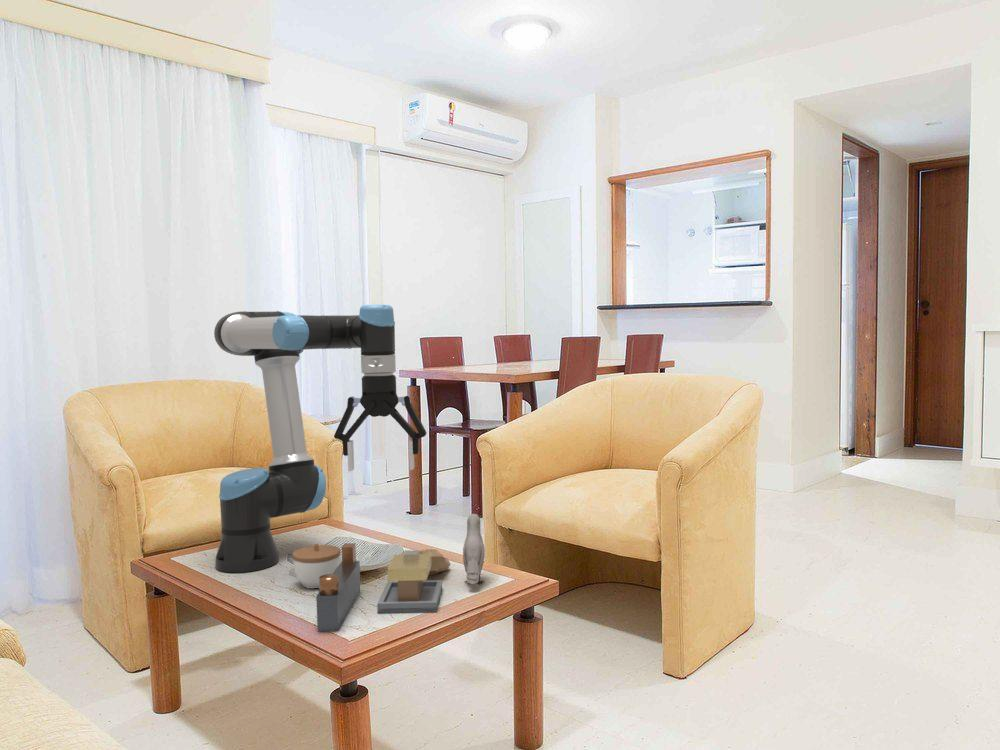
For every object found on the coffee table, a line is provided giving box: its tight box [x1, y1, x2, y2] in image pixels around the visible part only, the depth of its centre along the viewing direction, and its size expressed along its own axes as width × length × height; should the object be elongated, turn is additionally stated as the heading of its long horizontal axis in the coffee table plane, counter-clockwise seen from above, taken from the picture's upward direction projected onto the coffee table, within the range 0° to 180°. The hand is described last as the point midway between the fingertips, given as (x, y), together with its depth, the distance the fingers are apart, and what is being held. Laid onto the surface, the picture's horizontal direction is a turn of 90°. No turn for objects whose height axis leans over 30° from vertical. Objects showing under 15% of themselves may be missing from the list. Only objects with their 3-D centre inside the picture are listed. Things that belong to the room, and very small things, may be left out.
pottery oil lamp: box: [419, 548, 452, 576], centre depth 175 cm, size 9×12×7 cm
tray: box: [376, 579, 443, 614], centre depth 159 cm, size 14×12×6 cm
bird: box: [462, 513, 486, 586], centre depth 169 cm, size 5×14×15 cm, turn 179°
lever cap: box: [387, 549, 431, 582], centre depth 159 cm, size 10×8×4 cm
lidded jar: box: [291, 543, 342, 589], centre depth 171 cm, size 11×11×9 cm
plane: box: [315, 542, 362, 633], centre depth 154 cm, size 22×4×11 cm, turn 0°
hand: (381, 469), depth 167 cm, fingers open, 13 cm apart
